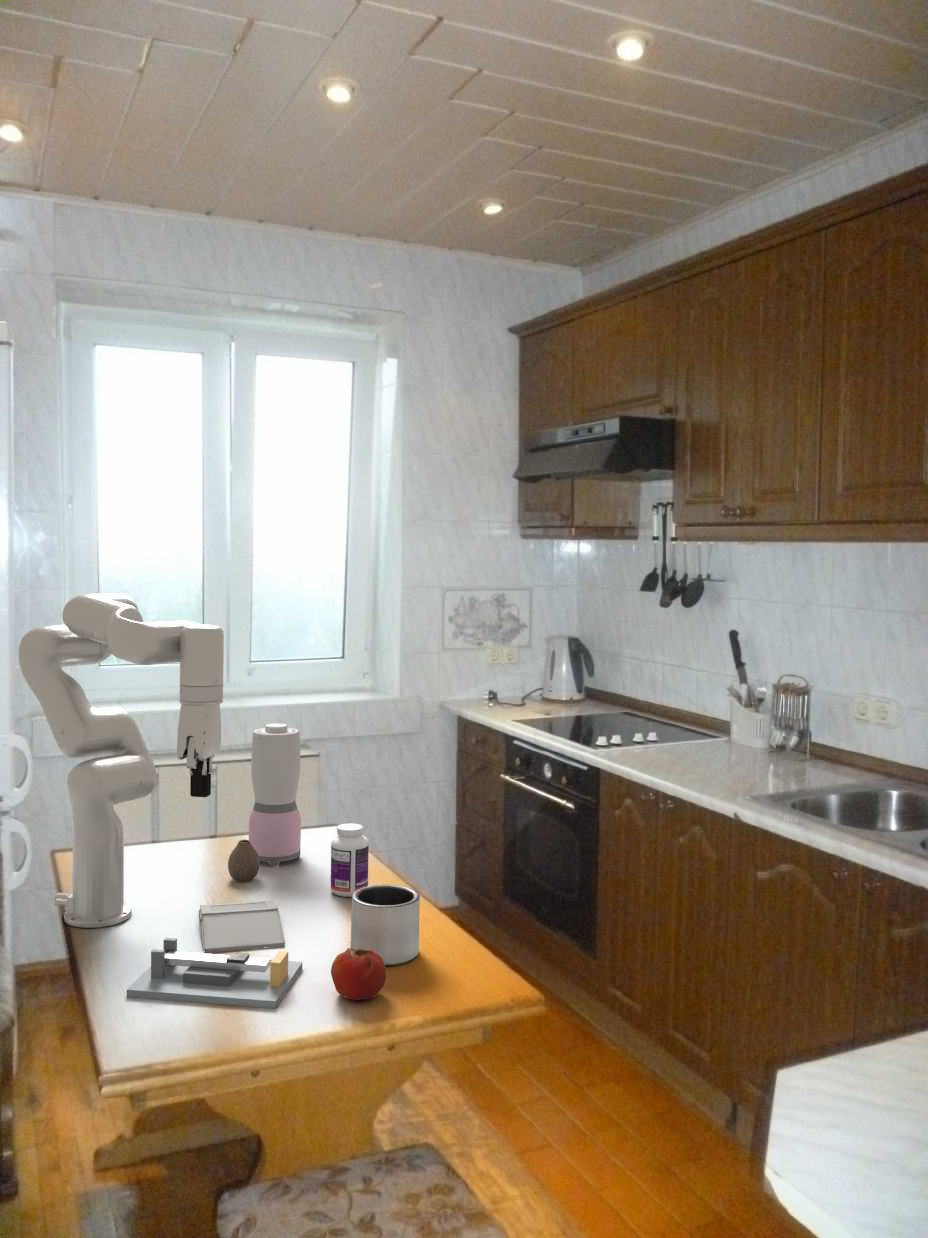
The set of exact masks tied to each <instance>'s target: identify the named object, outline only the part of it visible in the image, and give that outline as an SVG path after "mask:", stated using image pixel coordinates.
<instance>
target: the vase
mask: <svg viewBox="0 0 928 1238" xmlns="http://www.w3.org/2000/svg"><path fill="white" fill-rule="evenodd" d="M227 861H228V862H227V870H228V874H229V876H230V877H231V879H232V880H234V882H236V883H250V882H252V881H253V880H254V879H256V878H257V876H258V874H259V871H260V866H261V861H260V859H259V855H258V853H257V851H256V850H255V849H254V847H253V846H252V845H251V843H250V841H249V839H240V840H238V843H237V844H236V846H235V847H234V848H233V850H231V852H230V854H229V857H228V860H227Z"/></svg>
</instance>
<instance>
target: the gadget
mask: <svg viewBox="0 0 928 1238" xmlns="http://www.w3.org/2000/svg"><path fill="white" fill-rule="evenodd" d="M198 915H199V920H200V928H201V929H200V931H201V946H202V952H203V951H205V952H204V954H207V953H216V952H218V953H219V952H220V953H221V952H230V951H232V952H233V951H242V950H243V949H244V950H254V949H253V948H257V949H265V948H264V947H269V948H280V947H286V939H285V934H284V930H283V925H282V920H281V915H280V911H279V908H278V906H277V905H276V903H275V902H274V900H258V901H246V902H245V901H244V902H243V901H242V902H231V903H229V902H228V903H217V904H216V903H213V904H200V905H199V909H198ZM206 952H207V953H206Z"/></svg>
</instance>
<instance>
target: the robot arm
mask: <svg viewBox="0 0 928 1238" xmlns="http://www.w3.org/2000/svg"><path fill="white" fill-rule="evenodd" d="M63 607H64V608H63V609H62V615H61V616H62V621H63V624H56V625H55V624H54V625H46V626H45V625H44V626H40V627H37V628H36V627H35V628H33V629H32V630H30V631H27V632H26V633H25V634H24V635H23V637H22V638H21V640H20V642H19V646H18V663H19V668H20V671H21V673H22V676H23V678H24V680H25V682H26V684H27V685H28V687H29V688H30V691H32V693H33V694H34V696H35V697H36V699H37V701H38V703H39V704H40V707H41V708H42V712H43V714H44V716H45V719H46V721H47V723H48V725H49V729H50V730H51V733H52V735H53V738H54V740H55V743H56V744H57V745H56V746H57V747H58V749H59V750H60V752H61V754H62V755H63V756H64V757H66V758H67V759H70V760H71V759H75V760H76V759H79V760H80V759H85V758H86V759H87V758H91V759H87V760H84V761H82V762H80V763H77V764H76V765H75V766H73V768H72V769H70V771H69V773H68V775H67V778H66V790H67V795H68V799H69V806H70V815H71V824H72V826H71V829H72V832H71V833H72V836H71V838H72V839H71V840H72V858H71V859H72V864H71V865H72V873H71V874H72V884H71V885H72V889H71V890H72V891H71V893H66V892H65V893H64V892H57V893H55V895H54V906H55V907H65V908H66V911H65V912H64V913H63V921H64V923H66V924H67V925H69V926H72V927H74V928H75V927H76V928H82V929H83V928H84V929H94V928H105V927H106V928H107V927H111V926H113V925H115V926H116V925H118V924H120V923H122V922H124V921H126V920H128V919H129V918H131V916H132V912H133V911H132V909H133V908H132V907H131V905H129V904H127V903H126V902H124V899H125V898H124V893H125V891H124V890H125V889H124V886H125V885H124V881H125V880H124V879H125V878H124V877H125V876H124V875H125V874H124V870H125V861H124V860H125V858H124V857H125V855H124V854H125V853H124V851H125V849H124V848H125V845H124V844H125V838H124V837H125V836H124V835H125V831H124V824H123V821H122V819H121V818H120V817H119V815H118V814H117V812H116V811H115V809H114V806H116V805H118V804H122V803H127V802H132V801H136V800H140V799H142V798H145V797H148V796H149V795H150V794H151V793H153V791H155V788H156V785H157V778H158V776H157V775H158V774H157V771H156V767H155V763H154V760H153V758H152V756H151V753H150V751H149V749H148V747H147V745H146V743H145V739H144V738H143V736H142V734H141V731H140V729H139V726H138V725H137V723H136V720H135V718H134V717H133V716H132V715H131V714H130V712H128V711H127V710H126V709H123V708H122V707H119V706H104V707H94V706H92V705H91V703H90V701H89V700H88V698H87V696H86V692H85V690H84V688H83V687H82V686H81V684H80V683H79V682H78V681H77V680H76V679H74V677H72V676H71V675H70V674H68V673H67V672H66V671H64V670H63V669H62V668H63V667H77V666H87V665H88V666H89V665H95V664H99V663H101V662H104V661H105V660H107V659H108V658H110V656H111V655H112V656H113V657H115V658H117V659H120V660H123V661H126V662H129V663H132V664H136V665H140V666H141V665H142V666H144V665H145V666H151V665H160V664H161V665H162V664H171V663H172V664H174V663H179V704H180V709H179V714H178V725H177V726H178V727H177V736H176V737H177V741H176V758H177V759H178V760H181V761H182V760H184V759H186V767H185V768H186V769H189V775H190V785H189V786H190V792H189V793H190V797H192V798H207V797H209V796H211V794H212V778H211V777H212V769H213V768H212V767H213V759H214V758H215V755H216V754H217V753H218V752H220V749H221V745H222V743H221V742H222V718H221V717H222V716H221V704H223V703H224V663H225V662H224V659H225V658H224V654H225V653H224V647H225V646H224V644H225V637H224V636H225V635H224V631H223V628H221V627H220V626H218V625H213V624H200V623H196V622H194V621H190V620H176V621H174V620H173V621H171V620H169V621H153V622H151V621H149V622H144V619H143V616H142V613H141V612H140V611H139V608H138V605H137V603H136V602H135V600H134V599H133V598H132V597H130V596H129V595H126V594H123V593H90V594H88V593H86V594H81V595H77V596H74V597H73V598H71V599H70V600H68V602H66V604H65V605H64V606H63ZM103 755H104V756H103ZM105 755H107V756H105ZM96 756H97V757H96ZM98 756H100V757H98ZM101 756H102V757H101ZM92 757H96V758H92Z"/></svg>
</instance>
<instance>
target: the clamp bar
mask: <svg viewBox="0 0 928 1238" xmlns="http://www.w3.org/2000/svg"><path fill="white" fill-rule="evenodd" d="M250 955H251V954H250V953H249V952H248V953H246V952H235V951H234V952H233V951H232V952H231V953H230V955H229V954H228V955H227V954H216V953H215V954H214V953H205V952H188V951H178V950H177V951H171V950H166V951H165V965H174V966H187V967H200V968H213V969H226V970H239V971H252V972H266V971H267V969H268V968H269V967H270V962H271V960H272V959H271V958H270V957H269V958H268V957H267V958H266V957H255V956H250Z"/></svg>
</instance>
